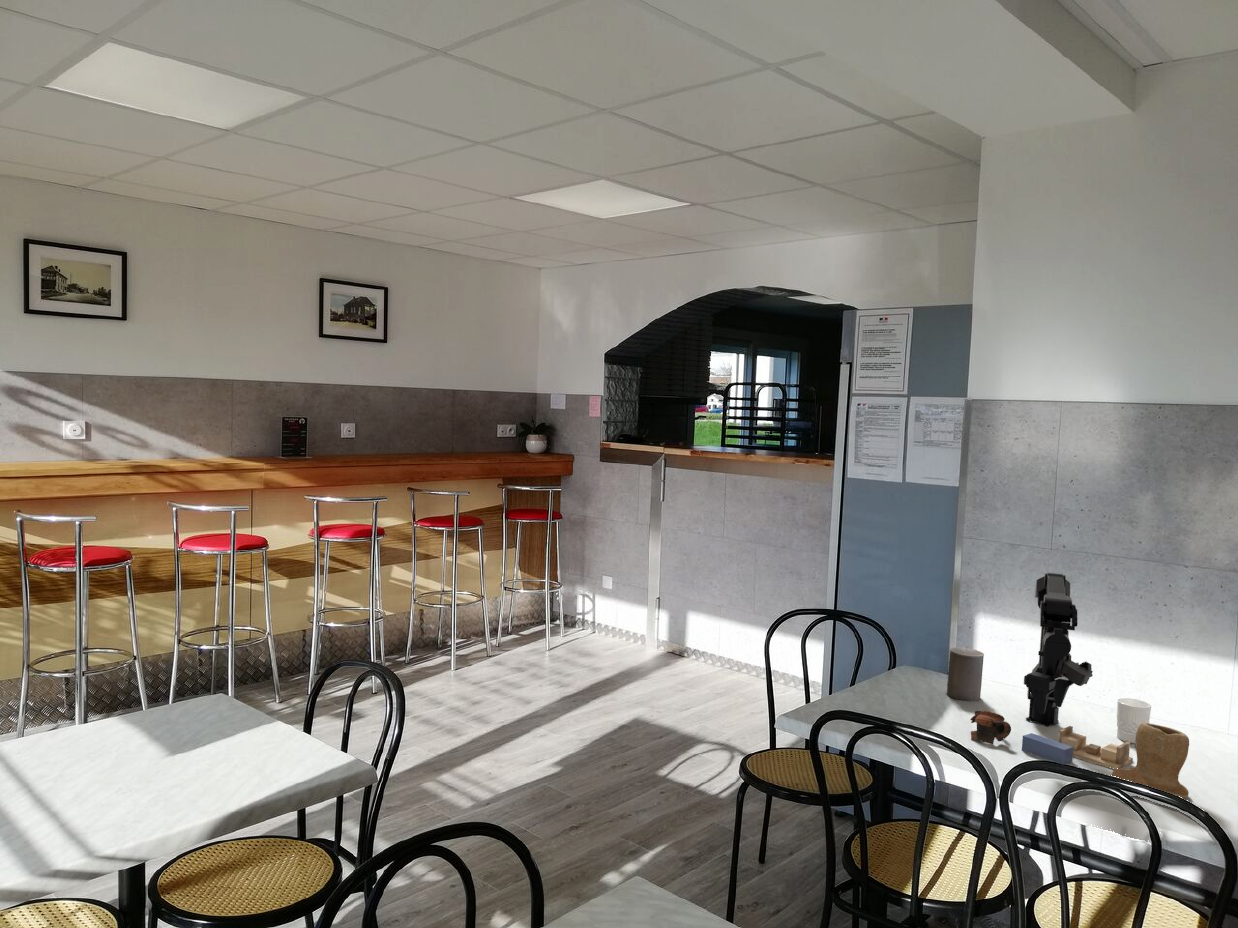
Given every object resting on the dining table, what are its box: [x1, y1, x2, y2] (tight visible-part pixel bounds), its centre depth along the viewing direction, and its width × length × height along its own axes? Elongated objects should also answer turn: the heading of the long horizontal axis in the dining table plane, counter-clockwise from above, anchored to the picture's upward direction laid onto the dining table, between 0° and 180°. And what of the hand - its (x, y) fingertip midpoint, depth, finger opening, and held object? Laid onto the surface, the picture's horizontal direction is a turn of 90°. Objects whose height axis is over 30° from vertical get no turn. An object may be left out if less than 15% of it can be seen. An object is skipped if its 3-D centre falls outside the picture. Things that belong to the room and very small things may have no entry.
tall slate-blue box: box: [1021, 732, 1074, 766], centre depth 230 cm, size 11×4×4 cm, turn 35°
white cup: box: [1116, 697, 1152, 745], centre depth 245 cm, size 8×8×10 cm
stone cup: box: [1110, 722, 1190, 799], centre depth 211 cm, size 15×12×15 cm
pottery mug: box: [969, 710, 1012, 745], centre depth 241 cm, size 12×9×8 cm
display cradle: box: [1058, 725, 1134, 770], centre depth 231 cm, size 10×15×5 cm, turn 41°
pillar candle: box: [945, 646, 985, 702], centre depth 277 cm, size 10×10×15 cm
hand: (1050, 710), depth 230 cm, fingers open, 9 cm apart
